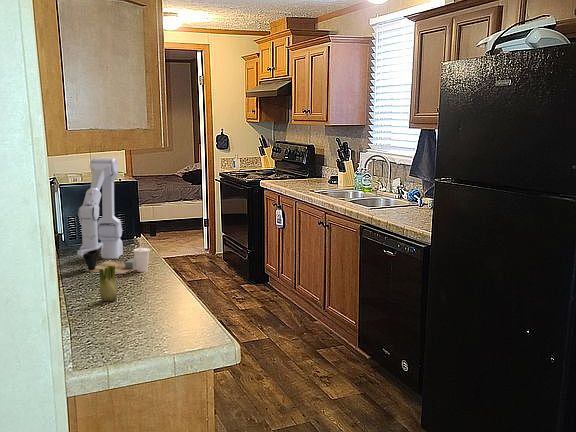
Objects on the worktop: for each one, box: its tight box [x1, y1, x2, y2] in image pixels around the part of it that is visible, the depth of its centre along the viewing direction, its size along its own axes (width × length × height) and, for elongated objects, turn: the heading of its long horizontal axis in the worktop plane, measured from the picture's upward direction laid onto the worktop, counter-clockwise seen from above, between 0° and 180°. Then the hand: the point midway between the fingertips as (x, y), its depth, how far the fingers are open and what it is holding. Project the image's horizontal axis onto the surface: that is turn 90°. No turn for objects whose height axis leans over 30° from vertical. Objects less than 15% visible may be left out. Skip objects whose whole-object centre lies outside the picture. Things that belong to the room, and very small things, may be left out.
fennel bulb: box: [98, 265, 118, 302], centre depth 180 cm, size 6×5×12 cm
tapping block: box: [124, 257, 136, 270], centre depth 219 cm, size 7×3×2 cm, turn 177°
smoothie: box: [132, 238, 151, 273], centre depth 212 cm, size 6×6×14 cm
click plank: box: [85, 260, 126, 273], centre depth 219 cm, size 16×8×1 cm, turn 167°
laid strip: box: [115, 263, 137, 275], centre depth 217 cm, size 16×8×1 cm, turn 167°
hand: (91, 269), depth 213 cm, fingers closed
